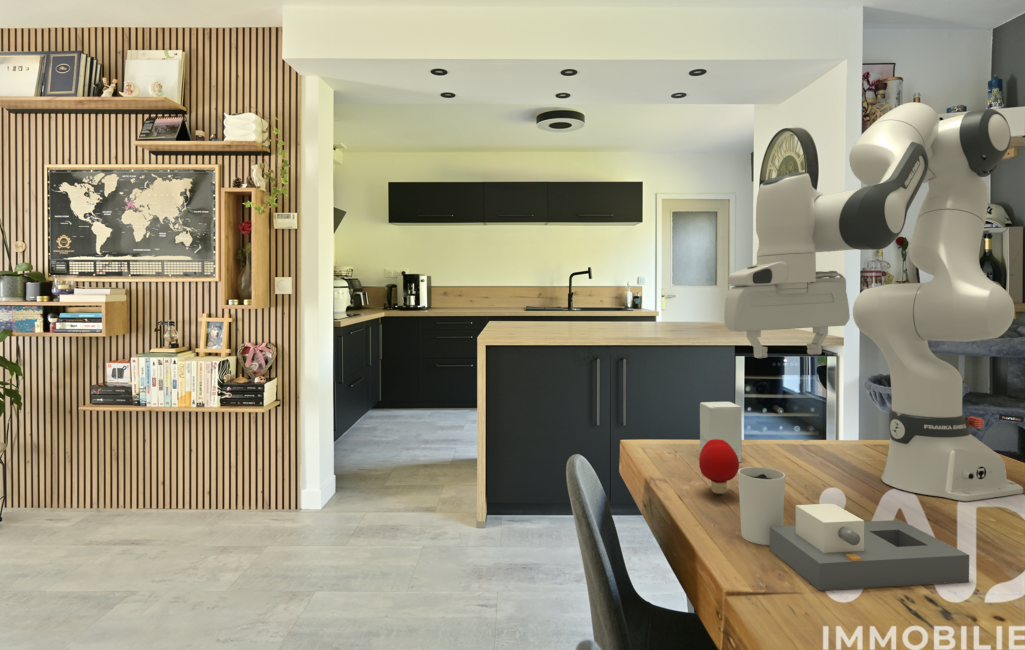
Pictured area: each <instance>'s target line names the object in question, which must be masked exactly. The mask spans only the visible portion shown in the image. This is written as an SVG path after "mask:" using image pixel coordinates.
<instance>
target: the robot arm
mask: <svg viewBox="0 0 1025 650" xmlns="http://www.w3.org/2000/svg"><path fill="white" fill-rule="evenodd" d="M1010 129H1011V128H1010V126H1009V123H1008V121H1007V119H1006V117H1005V116H1004V114H1002V113H1001V112H999V111H997V110H996V109H994V108H982V109H976V110H975V109H974V110H971V111H968V112H966V113H965V114H960V115H955V116H953V117H952V116H951V117H949V118H944V119H942V120H940V119H939V116H938V114H937V112H936V111H935V110H934V109H933V108H932V107H931V106H930V105H928V104H926V103H923V102H918V101H917V102H914V101H913V102H912V101H911V102H906V103H902V104H901V105H897V106H896V107H894V108H892V109H891V110H889V111H887V112H885V114H883V115H882V116H880V117H879V118H878V119H877V120H876V121H874V122H873V123H872V124H871V125H870V126H869V127H868V128H867V129H866V130H865V131H864V132H862V134H860V135H859V137H857V139H856V141H855V142H854V143H853V145H852V147H851V149H850V152H849V159H848V160H849V167H850V170H851V171H852V173H853V175H854V176H855V178H857V179H858V180H859V181H860V182H861V183H863V184H864V185H866V186H864V187H861V188H855V189H851V190H846V191H845V190H843V191H839V192H833V193H828V194H823V193H822V192H819V191H818V190H817V189H816V188H814V186H813V185H812V180H811V177H810V174H809V173H808V172H803V171H799V172H794V173H789V174H784V175H779V176H775V177H771V178H768V179H766V180H764V181H763V182H762V183H761V184H760V185H759V188H758V191H757V196H756V205H755V206H756V207H755V232H756V235H757V238H758V248H757V252H756V263H755V264H752V265H751V266H747V267H745V268H743V269H739V270H737V271H734V272H732V273H730V274H729V275H728V276H727V277H728V279H727V281H728V284H729V286H731V288H730V289H728V291H727V293H726V295H725V299H724V300H725V301H724V316H723V317H724V318H723V319H724V326H725V327H726V328H727V330H728V331H730V332H737V333H738V332H739V333H740V332H742V333H743V332H746V338H747V340H748V341H749V343H750V345H751V346H752V347H753V357H754V358H757V359H764V358H768V346H763V345H762V343H761V342H760V340H759V338H762V335H761V334H762V331H773V330H774V331H776V330H791V329H792V330H793V329H808V328H810V329H811V328H812V333H813V334H815V335H814V337H813V339H812V340H811V343H806V348H807V350H806V353H807V355H812V356H814V355H815V356H816V355H821V354H822V352H823V350H822V344H823V343H824V342H825V340H826V338H827V336H828V334H829V327H843V326H846V325H847V323H848V322H849V321H850V318H851V315H850V307H849V306H850V305H849V299H848V295H847V294H848V293H847V279H846V277H844V275H842V273H839V272H838V271H837V270H829V271H822V270H820V271H817V269H816V268H817V260H816V259H817V257H816V253H824V252H825V253H826V252H827V253H829V252H840V251H850V250H851V251H853V250H862V251H863V250H864V251H865V250H866V251H867V250H871V251H874V250H876V251H877V250H878V251H879V250H883V249H885V248H887V247H889V246H890V245H891V244H892V243H893V242H894V241H896V239H897V238H899V235H900V234H901V233H902V231H903V229H904V228H905V224H906V220H907V214H908V212H909V209H910V208H911V205H912V203H913V202H914V199H915V198H916V196H917V194H918V193H919V190H920V189H921V187H922V185H923V184H925V183H927V184H928V192H927V193H926V195H925V198H924V200H923V202H922V204H921V206H920V209H919V211H918V214H917V218H916V221H915V225H914V227H913V233H912V235H911V239H910V242H909V247H908V249H907V250H908V252H907V253H908V257H909V260H910V262H911V263H912V265H914V267H916V269H919V270H920V271H921V272H924V273H926V274H928V275H930V276H933V278H932V280H931V281H928V282H913V283H912V282H911V283H889V284H883V285H878V286H873V287H870V288H869V287H868V288H865V289H863V290H862V291H861V292H860V293H859V294H858V295H857V297H856V299H855V301H854V303H853V306H852V317H853V321H854V323H855V325H856V328H858V330H859V331H860V332H861V333H863V334H864V335H866V336H867V338H869V339H870V340H871V341H872V342H874V344H875V345H876V346H877V347H878V349H879V350H880V352H881V353H882V354H883V356H884V359H885V362H886V363H887V366H888V370H889V374H890V375H889V377H890V389H891V391H890V392H891V408H890V409H889V410H888V429H889V431H888V432H889V437H890V438H889V446H888V454H887V458H886V462H885V466H884V469H883V472H882V474H881V477H880V478H881V479H880V480H881V481H882V482H883V483H884V484H886V485H888V486H890V487H893V488H896V489H899V490H903V491H906V492H910V493H917V494H920V495H926V496H927V495H928V496H935V497H941V498H942V497H943V498H946V499H951V500H955V501H959V502H960V501H961V502H969V501H977V500H985V499H991V498H999V497H1006V496H1012V495H1018V494H1023V493H1024V488H1023V486H1022V485H1020V484H1019V483H1016V482H1015V481H1013V480H1011V479H1007V469H1006V464H1005V461H1004V459H1003V457H1001V455H1000V454H999V453H997V452H996V451H995V450H993V449H991V448H990V447H989V446H988V445H986V444H984V443H983V442H982V441H980V439H978V438H977V437H975V436H974V435H973V434H972V431H971V428H973V427H974V428H975V429H982V428H983V427H984V426H985V420H984V419H983V418H982V417H976V416H969V417H967V416H965V415H964V414H963V377H962V375H961V373H960V372H959V371H958V369H957V368H956V367H955V366H953V365H952V364H950V363H949V362H947V361H944V360H942V359H941V358H938V357H937V356H936V355H935V354H934V353H933V352H932V350H931V348H930V347H929V342H928V341H939V342H963V343H964V342H965V343H966V342H967V343H968V342H977V341H984V340H991V339H997V338H1000V337H1001V336H1002V335H1003V334H1005V333H1006V332H1007V331H1008V329H1009V328H1010V327H1011V325H1012V324H1013V321H1014V318H1015V304H1014V300H1013V299H1012V296H1011V295H1010V294H1009V293H1008V290H1006V289H1004V288H1003V287H1002V286H1001V285H1000V284H998V283H995V282H994V281H992V280H991V279H990V278H989V277H987V275H985V272H984V271H983V269H982V268H981V264H980V251H981V250H980V249H981V245H982V244H981V243H982V238H983V235H984V229H985V226H986V221H987V215H988V205H989V203H988V200H989V199H988V197H989V196H988V195H989V193H988V187H987V183H986V182H985V180H983V178H986V177H989V176H990V175H992V174H993V173H994V172H995V170H996V169H997V166H998V164H999V163H1000V162H1001V161H1002V160H1003V159H1004V157H1005V155H1006V154H1007V152H1008V150H1009V147H1010V145H1011V139H1012V138H1011V137H1012V135H1011V130H1010ZM970 427H971V428H970Z"/></svg>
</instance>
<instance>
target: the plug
mask: <svg viewBox="0 0 1025 650" xmlns="http://www.w3.org/2000/svg"><path fill="white" fill-rule="evenodd" d="M864 522H865V520H864V519H862V518H860V517H858V516H856V515H854V514H853V513H851V512H850V511H847V510H846V509H843V508H842V507H840V506H839V505H836V504H835V503H833V502H832V503H814V504H796V505H795V525H796V534H798V535H799V536H800V537H802V538H803V539H805V540H806V541H808V542H809V543H810V544H812V545H813V546H815V547H816V548H817V549H819V550H820V551H822V552H823V553H832V552H850V551H864Z"/></svg>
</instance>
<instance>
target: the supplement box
mask: <svg viewBox="0 0 1025 650" xmlns="http://www.w3.org/2000/svg"><path fill="white" fill-rule="evenodd" d="M712 439H720V440H724V441H726V442H727V443H728V444H729V445H730V446H731V447H732V448H733V450H734V451H735V453H736V455H737V457H738V460H739V463H742V461H743V460H742V459H743V447H742V446H743V445H742V442H743V441H742V439H743V438H742V406H740V405H738V404H736V403H734V402H731V401H703V402H700V403H699V447H700V448H699V452H700V453H701V450H702V448H703V446H704V445H705V444H706V443H707V442H708V441H709V440H712ZM700 453H699V454H700Z"/></svg>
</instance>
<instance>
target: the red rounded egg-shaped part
mask: <svg viewBox="0 0 1025 650" xmlns="http://www.w3.org/2000/svg"><path fill="white" fill-rule="evenodd" d="M699 454H700V455H699V457H698V463H699V465H698V466H699V470H700V473H701V474H702V476H704V477H705V478H706V479H708V480H709V481H710V482H711V488H710V489H711V491H712V492H713V493H714V494H715V495H716V496H722V495H723V494H725V493H726V492H727V489H728V488H727V484H728V481H731V480H733V479H734V478H735V477H736V476H737V475H738V470H739V469H740V462H739V460H738V457H737V455H736V453H735V451H734V450H733V448H732V447H731V446H730V445H729V444H728V443H727V442H726V441H724V440H720V439H712V440H709V441H708V442H707V443H706V444H705V445H704V446H703V448H702V450H701V453H699Z"/></svg>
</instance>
